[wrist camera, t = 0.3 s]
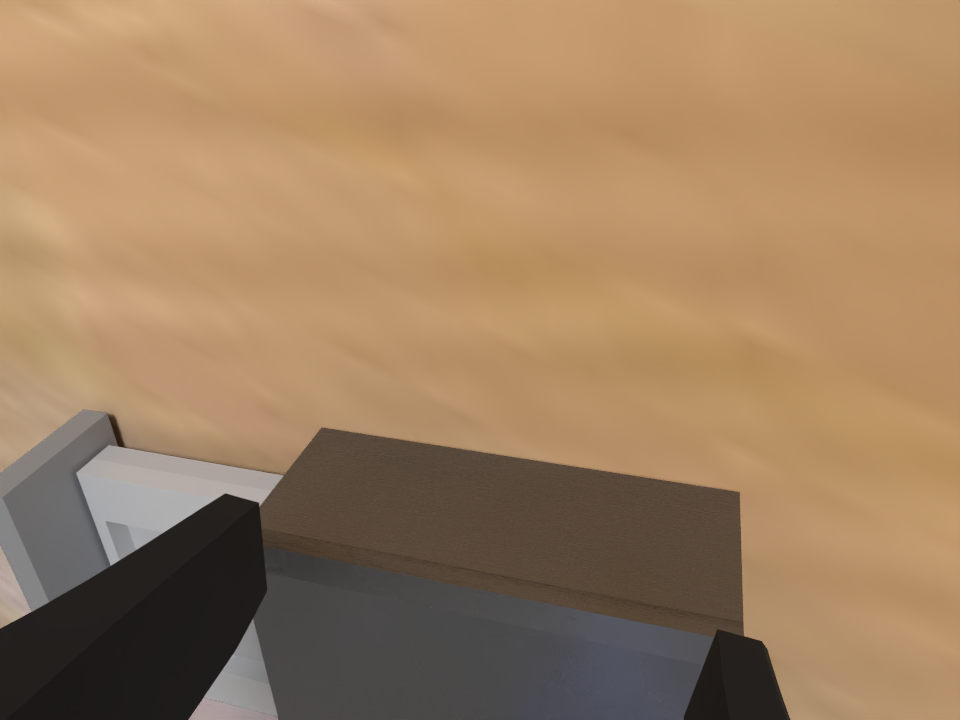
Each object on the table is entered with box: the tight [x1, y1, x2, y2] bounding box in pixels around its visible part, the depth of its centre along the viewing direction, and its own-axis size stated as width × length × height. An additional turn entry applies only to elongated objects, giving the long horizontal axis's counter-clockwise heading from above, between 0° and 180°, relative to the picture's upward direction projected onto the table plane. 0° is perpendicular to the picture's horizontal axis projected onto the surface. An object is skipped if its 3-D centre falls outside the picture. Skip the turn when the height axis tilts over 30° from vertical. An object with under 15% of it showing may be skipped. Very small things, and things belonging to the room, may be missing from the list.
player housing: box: [253, 428, 744, 720], centre depth 24 cm, size 14×13×5 cm
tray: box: [0, 409, 284, 717], centre depth 26 cm, size 13×13×5 cm
